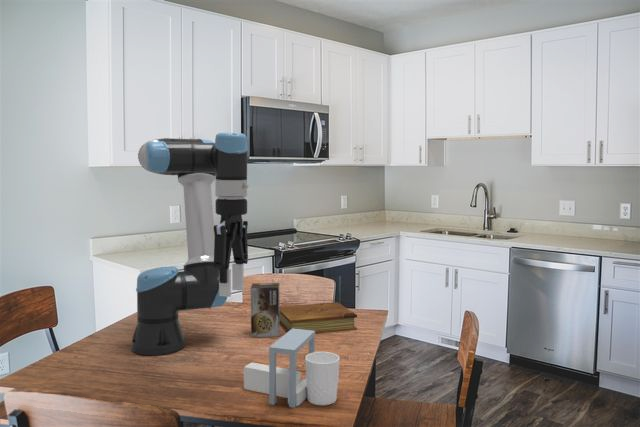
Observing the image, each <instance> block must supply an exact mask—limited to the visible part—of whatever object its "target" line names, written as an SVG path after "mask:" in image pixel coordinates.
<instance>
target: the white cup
mask: <svg viewBox="0 0 640 427" xmlns="http://www.w3.org/2000/svg"><path fill="white" fill-rule="evenodd" d="M340 361H341V359H340V356H339V355H338V354H336V353H333V352H331V351H315V352H313V353H310V354H309V353H308V354H306V355H305V378H306V384H307V395H308V398H307V401H308V402H309V403H310V404H312V405H316V406H328V405H331V404H335V403H336V401H337V396H338V388H339V387H338V386H339V377H340V376H339V375H340V374H339V372H340Z"/></svg>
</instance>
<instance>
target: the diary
mask: <svg viewBox="0 0 640 427" xmlns="http://www.w3.org/2000/svg"><path fill="white" fill-rule="evenodd" d="M356 318H358V314H356V313H355V312H353V311H352V310H350V309H349V308H347V307H346V306H344V305H343V304H341V303H340V302H337V301H335V302H324V303H323V302H322V303H312V304H311V303H309V304H308V303H307V304H296V305H295V304H294V305H283V306H282V305H280V328H282V329H283V330H284V331H285V332H286V333H287V332H289V331H290V330H291V329H292V328H293V329H303V330H312V331H315V335H316V334H317V335H318V334H329V333H339V332H348V331H357V330H358V329H357V327H356V326H355V319H356Z"/></svg>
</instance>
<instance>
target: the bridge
mask: <svg viewBox="0 0 640 427" xmlns="http://www.w3.org/2000/svg"><path fill="white" fill-rule="evenodd" d="M307 344H308V354H310V353H313V352H316V334H315V331H312V330H303V329H293V328H292V329H291V330H290V331H289V332H286V333H285V334H284V335H283V336H281V337H280V338H279V339H278V340H276V341H275V342H274V343H273V344H271V345H270V346H269V348H268V349H269V350H268V356H269V357H268V359H269V361H268V362H269V363H268V365H269V394H268V396H269V398H268V404H269V405H272V406H274V405H276V403H277V396H276V367H277V354H278V355H279V354H280V355H287V356H289V357H288V358H289V361H288V362H289V404H288V407H289V408H293V409H294V408H296V407H297V406H296V371H298V370H297V365H298V364H297V360H298V359H297V356H298V352H300V351H301V350H302V349H303V348H304V347H305V346H306V345H307Z"/></svg>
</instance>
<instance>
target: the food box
mask: <svg viewBox="0 0 640 427" xmlns="http://www.w3.org/2000/svg"><path fill="white" fill-rule="evenodd" d="M249 290H250V337H251V338H267V337H270V338H274V337H280V335H281V333H280V332H281V326H280V306H281V305H280V298H281V297H280V283H279V282H277V283H276V282H275V283H274V282H260V283H259V282H258V283H257V282H255V283H253V282H252V284H251V287H250V289H249Z"/></svg>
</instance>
